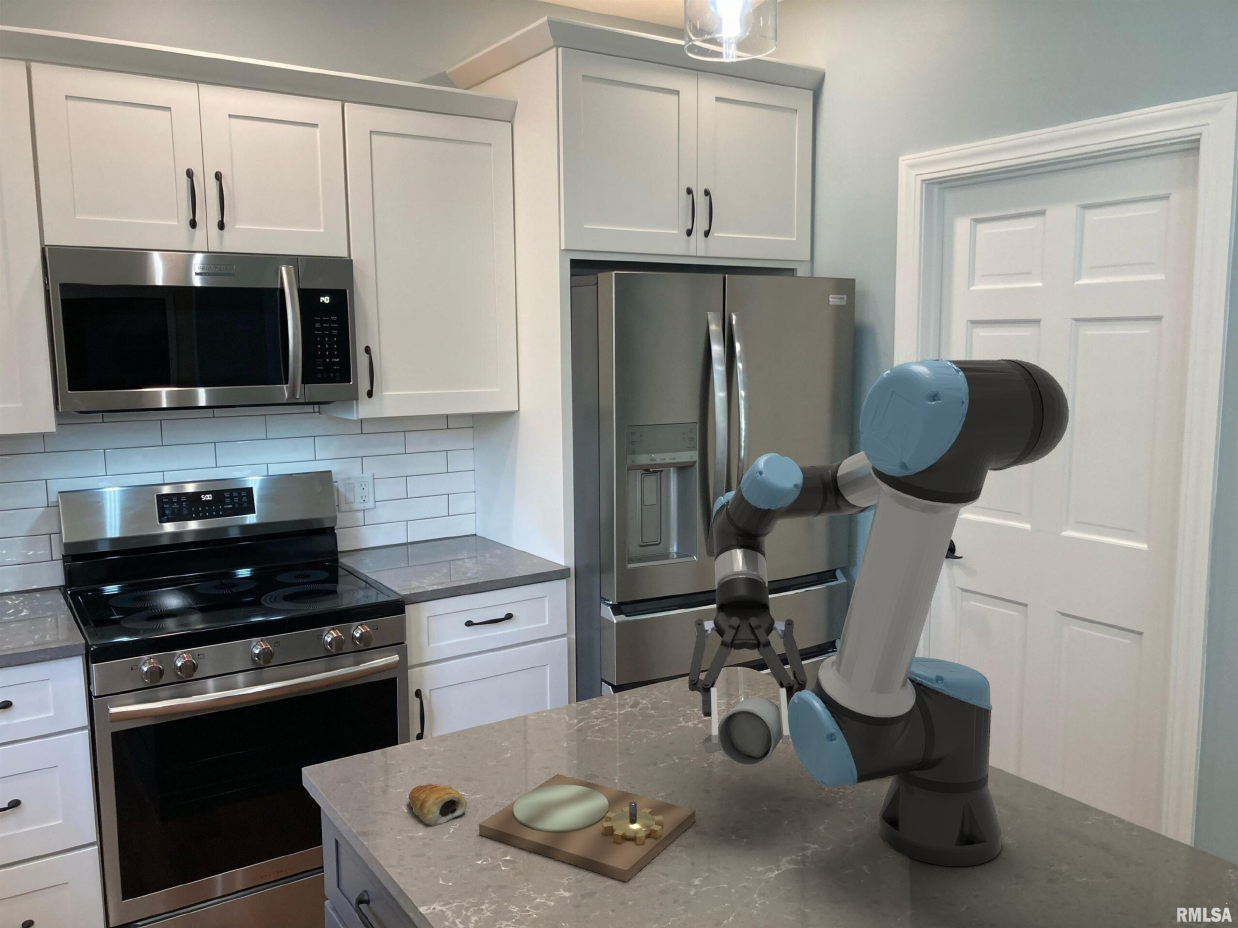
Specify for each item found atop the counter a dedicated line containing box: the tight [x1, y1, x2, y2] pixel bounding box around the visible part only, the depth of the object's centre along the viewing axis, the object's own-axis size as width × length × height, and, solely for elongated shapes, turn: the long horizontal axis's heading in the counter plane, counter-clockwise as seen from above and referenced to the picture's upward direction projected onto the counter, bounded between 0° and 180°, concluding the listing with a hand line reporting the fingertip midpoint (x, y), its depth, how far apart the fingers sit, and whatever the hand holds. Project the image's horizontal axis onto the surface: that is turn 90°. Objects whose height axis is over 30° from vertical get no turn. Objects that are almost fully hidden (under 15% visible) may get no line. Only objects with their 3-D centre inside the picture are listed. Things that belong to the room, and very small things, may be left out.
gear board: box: [478, 773, 696, 883], centre depth 128 cm, size 23×18×2 cm
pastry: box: [408, 783, 468, 826], centre depth 134 cm, size 9×7×4 cm
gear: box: [602, 802, 664, 845], centre depth 124 cm, size 8×8×4 cm
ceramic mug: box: [701, 696, 782, 768], centre depth 127 cm, size 11×8×8 cm
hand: (750, 739), depth 122 cm, fingers closed on ceramic mug, 8 cm apart
